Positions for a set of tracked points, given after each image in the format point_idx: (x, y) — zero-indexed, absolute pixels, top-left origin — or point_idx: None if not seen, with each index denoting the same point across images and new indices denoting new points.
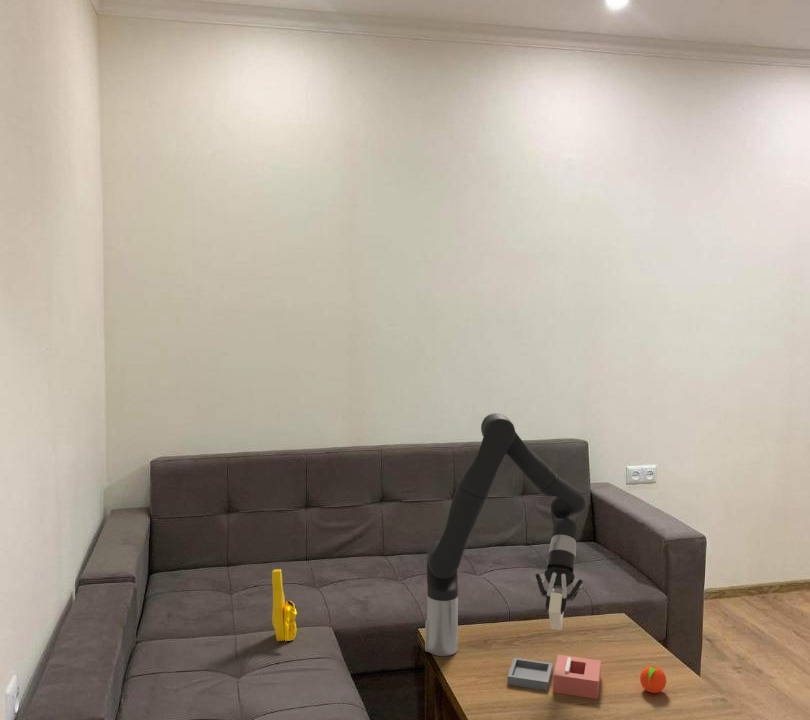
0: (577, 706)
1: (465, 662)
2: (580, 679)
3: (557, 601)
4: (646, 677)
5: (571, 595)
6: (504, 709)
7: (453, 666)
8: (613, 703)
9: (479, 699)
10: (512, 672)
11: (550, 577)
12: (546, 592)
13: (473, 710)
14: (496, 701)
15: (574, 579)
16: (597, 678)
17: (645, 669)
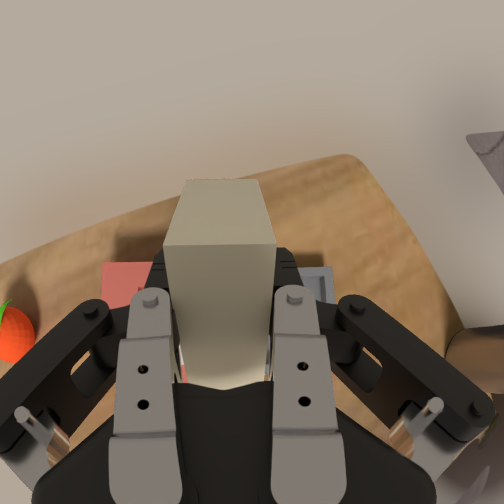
0: (159, 227)
1: (422, 330)
2: (146, 262)
3: (204, 207)
4: (13, 314)
5: (88, 303)
6: (303, 175)
7: (435, 303)
8: (89, 264)
9: (356, 196)
10: (325, 288)
11: (347, 455)
12: (322, 321)
13: (352, 160)
14: (326, 197)
15: (41, 476)
16: (105, 277)
17: (9, 333)
